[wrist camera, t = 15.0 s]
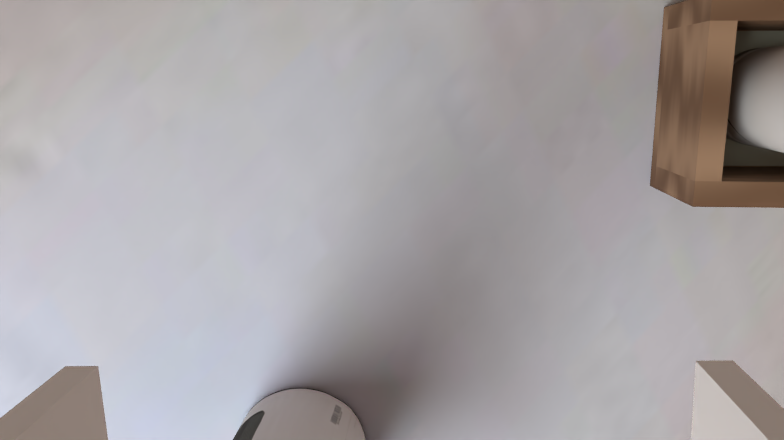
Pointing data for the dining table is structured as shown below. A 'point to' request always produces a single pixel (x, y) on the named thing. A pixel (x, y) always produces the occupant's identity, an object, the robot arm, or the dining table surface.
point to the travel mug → (758, 99)
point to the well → (712, 105)
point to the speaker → (300, 418)
